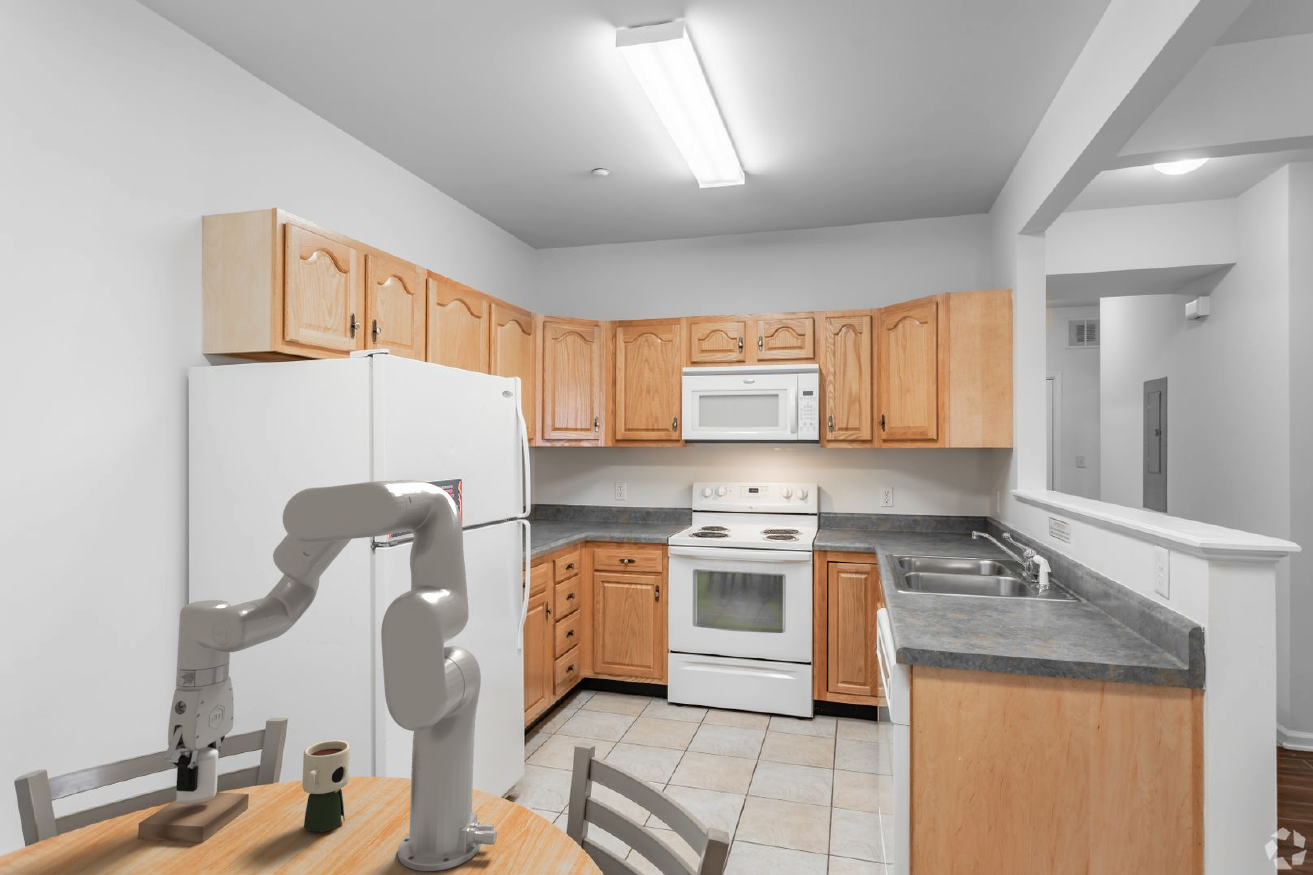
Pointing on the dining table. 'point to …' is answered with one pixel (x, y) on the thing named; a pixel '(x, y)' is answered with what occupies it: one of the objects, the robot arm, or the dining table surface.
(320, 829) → the character mug
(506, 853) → the dining table surface
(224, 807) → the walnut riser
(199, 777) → the eye dropper bottle
